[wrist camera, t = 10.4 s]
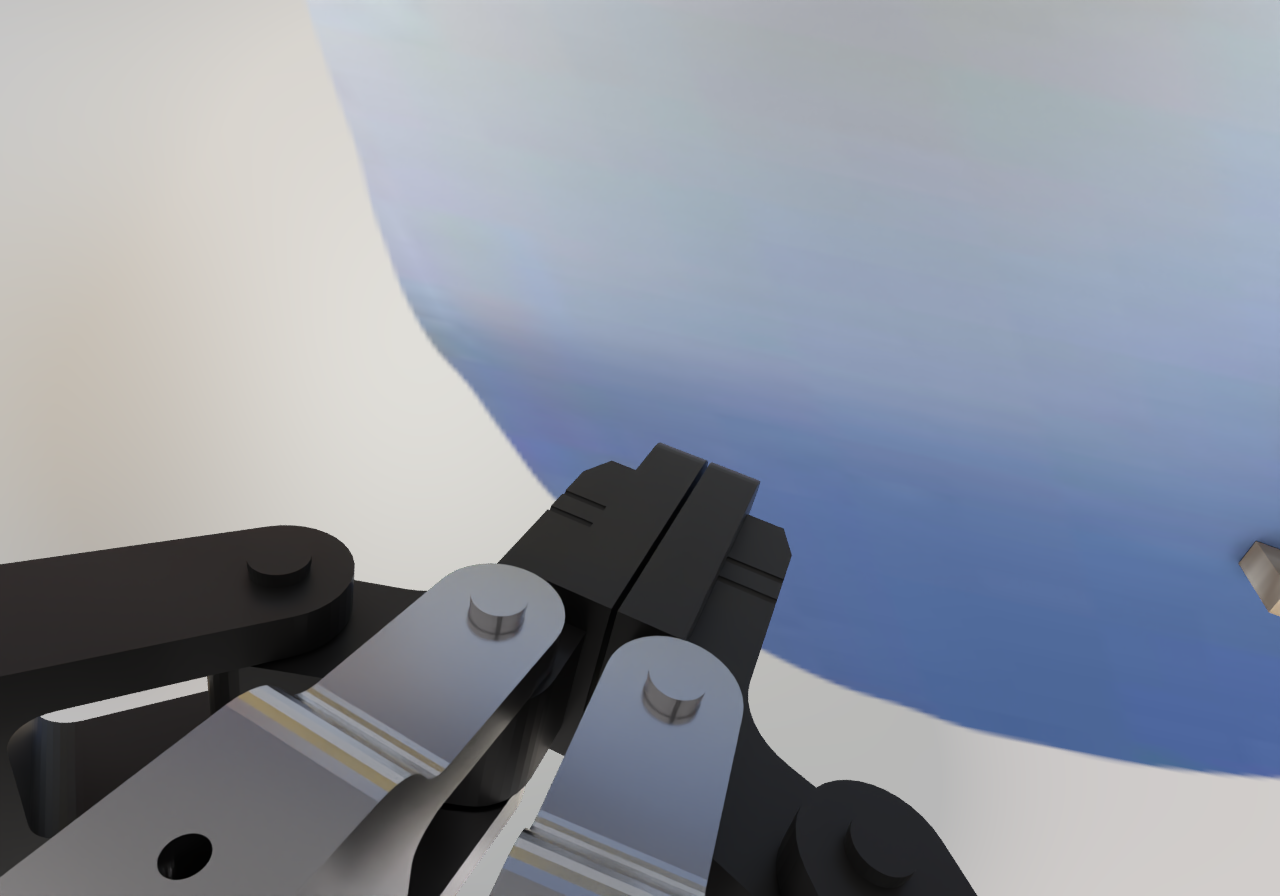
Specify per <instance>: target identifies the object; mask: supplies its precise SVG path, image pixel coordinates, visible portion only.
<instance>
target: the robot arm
mask: <svg viewBox="0 0 1280 896" xmlns="http://www.w3.org/2000/svg"><path fill="white" fill-rule="evenodd" d="M707 465H708V461H707V460H704V459H701V458H699V457H696V456H694V455H691V454H689V453H686V452H683V451H681V450H678V449H676V448H673V447H670V446H668V445H665V444H663V443H658V444H657V445H656V446H655V447H654V448H653V450H652V451H651V452H650V453H649V455H648V456H647V457H646V458H645V459H644V461H643V462H642V463H641V464H640V466H639V467H638V468H637V469H636V470H634V469H631V468H629V467H626V466H624V465H621V464H619V463H616V462H614V461H610V462H607V463H605V464H602V465H599V466H597V467H594V468H591V469H589V470H586V471H583V472H582V473H581V475H580V476H579V477H578V478H577V479H576V480H575V481H574V482H573V483H572V484H571V485H570V486H569V487H568V488H567V489H566V492H565V494H562V495H561V496H560V497H559V498H558V499H557V500H556V501H555V502H554V504H553V505H552V506H551V508H550V510H547V511H546V512H545V513H544V514H543V515H542V516H541V517H540V519H539V520H538V521H537V522H536V523H535V524H534V525H533V526H532V527H531V528H530V529H529V530H528V531H527V532H526V533H525V534H524V536H523V537H522V538H521V539H520V540H519V541H518V542H517V543H516V544H515V545H514V546H513V547H512V548H511V549H510V550H509V551H508V553H507V554H506V555H505V556H504V557H503V558H502V559H501V560H500V561H499V562H498V563H497V564H478V565H472V566H468V567H464V568H461V569H458V570H456V571H454V572H452V573H450V574H448V575H447V576H446V577H444V578H443V579H441V580H440V581H439V582H438V583H437V584H435V585H434V586H433V587H432V588H431V589H429V590H428V591H416V590H408V589H402V588H396V587H390V586H385V585H379V584H373V583H368V582H362V581H356V580H354V560H353V556H352V555H351V553H350V551H349V549H348V548H347V547H346V546H345V545H344V544H343V543H342V542H341V541H339V540H338V539H337V538H335V537H333V536H331V535H329V534H328V533H325V532H322V531H319V530H317V529H312V528H307V527H302V526H287V525H286V526H285V525H283V526H282V525H280V526H269V527H261V528H254V529H247V530H241V531H233V532H226V533H219V534H212V535H205V536H198V537H191V538H185V539H177V540H170V541H163V542H156V543H148V544H142V545H135V546H127V547H120V548H113V549H107V550H99V551H93V552H85V553H78V554H71V555H64V556H57V557H50V558H43V559H36V560H29V561H22V562H15V563H8V564H0V896H455V895H456V894H457V893H458V891H459V890H460V888H461V887H462V885H463V884H464V883H465V881H466V880H467V878H468V877H469V876H470V874H471V873H472V871H473V870H474V868H475V867H476V866H477V864H478V863H479V861H480V860H481V859H482V857H483V856H484V854H485V853H486V851H487V850H488V849H489V847H490V846H491V844H492V843H493V842H494V840H495V839H496V837H497V836H498V834H499V833H500V832H501V830H502V828H503V827H504V826H505V825H506V823H507V822H508V820H509V819H510V817H511V816H512V815H513V813H514V812H515V810H516V809H517V807H518V805H519V804H520V802H521V800H522V797H523V794H524V790H525V786H526V784H527V782H528V781H529V780H530V778H531V777H532V775H533V774H534V772H535V770H536V768H537V767H538V765H539V764H540V762H541V760H542V759H543V757H544V755H545V753H546V752H547V750H548V749H551V750H554V751H555V752H557V753H559V754H561V755H564V759H563V761H562V763H561V765H560V767H559V770H558V771H557V774H556V776H555V778H554V780H553V783H552V784H551V787H550V789H549V791H548V793H547V795H546V798H545V800H544V802H543V804H542V806H541V809H540V811H539V813H538V815H537V817H536V819H535V821H534V823H533V824H532V826H531V828H530V829H528V828H525V829H524V830H523V831H522V833H521V834H520V836H519V837H518V839H517V841H516V842H515V844H514V846H513V848H512V850H511V852H510V854H509V855H508V858H507V860H506V862H505V864H504V866H503V868H502V870H501V872H500V875H499V876H498V878H497V881H496V883H495V885H494V887H493V889H492V891H491V893H490V895H489V896H977V895H976V893H975V892H974V890H973V889H972V887H971V885H970V884H969V882H968V880H967V879H966V877H965V876H964V874H963V873H962V871H961V870H960V868H959V866H958V865H957V863H956V862H955V860H954V859H953V857H952V856H951V854H950V852H949V851H948V849H947V848H946V846H945V845H944V843H943V842H942V840H941V839H940V837H939V836H938V835H937V833H936V832H935V830H934V829H933V828H932V827H931V826H930V825H929V823H928V822H927V821H926V820H925V819H924V818H923V817H922V816H921V815H920V814H919V813H918V812H917V811H915V810H914V809H913V808H912V807H911V806H910V805H908V804H907V803H905V802H904V801H903V800H901V799H900V798H898V797H897V796H895V795H893V794H891V793H889V792H888V791H886V790H884V789H881V788H879V787H876V786H874V785H871V784H867V783H864V782H860V781H852V780H837V781H832V782H828V783H824V784H822V785H821V786H819V787H817V788H816V787H815V786H813V785H812V784H810V783H809V782H808V781H807V780H806V779H805V778H803V777H802V776H801V775H800V774H798V773H797V772H796V771H795V770H793V769H792V768H791V767H790V766H788V765H787V764H786V763H785V762H784V761H783V760H782V759H781V758H779V757H778V756H777V755H776V753H775V752H774V751H773V750H772V749H771V748H770V747H769V746H768V744H767V743H766V742H765V740H764V739H763V737H762V736H761V735H760V733H759V731H758V729H757V727H756V725H755V724H754V721H753V718H752V716H751V713H750V709H749V703H748V689H749V684H750V680H751V677H752V674H753V671H754V668H755V665H756V662H757V659H758V656H759V653H760V650H761V647H762V644H763V641H764V638H765V635H766V632H767V629H768V626H769V623H770V620H771V617H772V614H773V611H774V608H775V604H776V601H777V598H778V595H779V592H780V589H781V586H782V583H783V580H784V577H785V574H786V571H787V568H788V565H789V562H790V559H791V556H792V555H791V551H790V548H789V545H788V541H787V538H786V535H785V532H784V529H783V528H780V527H778V526H775V525H773V524H770V523H768V522H765V521H763V520H760V519H758V518H755V517H753V516H750V515H749V513H750V510H751V507H752V504H753V502H754V499H755V496H756V493H757V491H758V488H759V484H760V481H759V480H756V479H754V478H751V477H748V476H746V475H743V474H741V473H738V472H736V471H733V470H730V469H728V468H725V467H723V466H720V465H717V464H715V463H712V462H711V463H710V464H709V466H708V467H707ZM206 676H207V679H208V691H205V692H201V693H196V694H192V695H188V696H184V697H180V698H176V699H172V700H167V701H163V702H159V703H155V704H151V705H146V706H142V707H138V708H134V709H130V710H126V711H121V712H117V713H113V714H109V715H105V716H100V717H97V718H92V719H88V720H84V721H79V722H72V723H58V722H51V721H48V720H45V719H43V718H41V717H40V716H41V715H44V714H47V713H51V712H54V711H58V710H63V709H67V708H71V707H75V706H80V705H84V704H89V703H93V702H97V701H102V700H106V699H110V698H115V697H119V696H123V695H128V694H132V693H136V692H141V691H145V690H149V689H153V688H158V687H162V686H167V685H171V684H175V683H180V682H184V681H189V680H192V679H197V678H201V677H206Z"/></svg>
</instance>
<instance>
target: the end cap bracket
mask: <svg viewBox="0 0 1280 896" xmlns="http://www.w3.org/2000/svg"><path fill="white" fill-rule="evenodd" d="M1239 565H1240V567H1241V568H1242V570H1243V571H1244V573H1245V575H1246V576H1247V578H1248V579H1249V581H1250V583H1251V584H1252V586H1253V588H1254V589H1255V591H1256V592H1257V594H1258V596H1259V597H1260V599H1261V600H1262V602H1263V604H1264V605H1265V607H1266V609H1267V610H1268V612H1270V613H1272V614H1275V615H1278V616H1280V549H1277V548H1274V547H1271V546H1268V545H1266V544H1263V543H1260V542H1257V541H1256V542H1255V543H1254V545H1253V546H1252V547H1251V548H1250V550H1249V551H1248V552H1247V554H1246V555H1245V556H1244V557H1243V559H1242V560H1241V561H1240V562H1239Z"/></svg>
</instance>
